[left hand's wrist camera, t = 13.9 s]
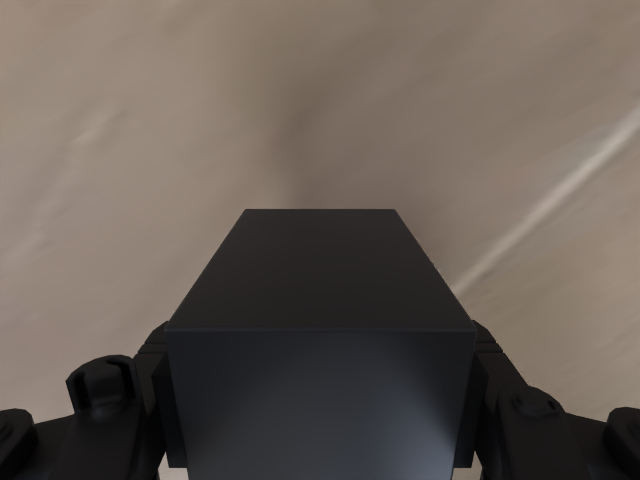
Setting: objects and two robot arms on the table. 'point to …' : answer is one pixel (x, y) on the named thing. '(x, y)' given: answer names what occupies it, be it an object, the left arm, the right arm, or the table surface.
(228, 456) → the bar
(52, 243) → the table surface
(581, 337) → the table surface
